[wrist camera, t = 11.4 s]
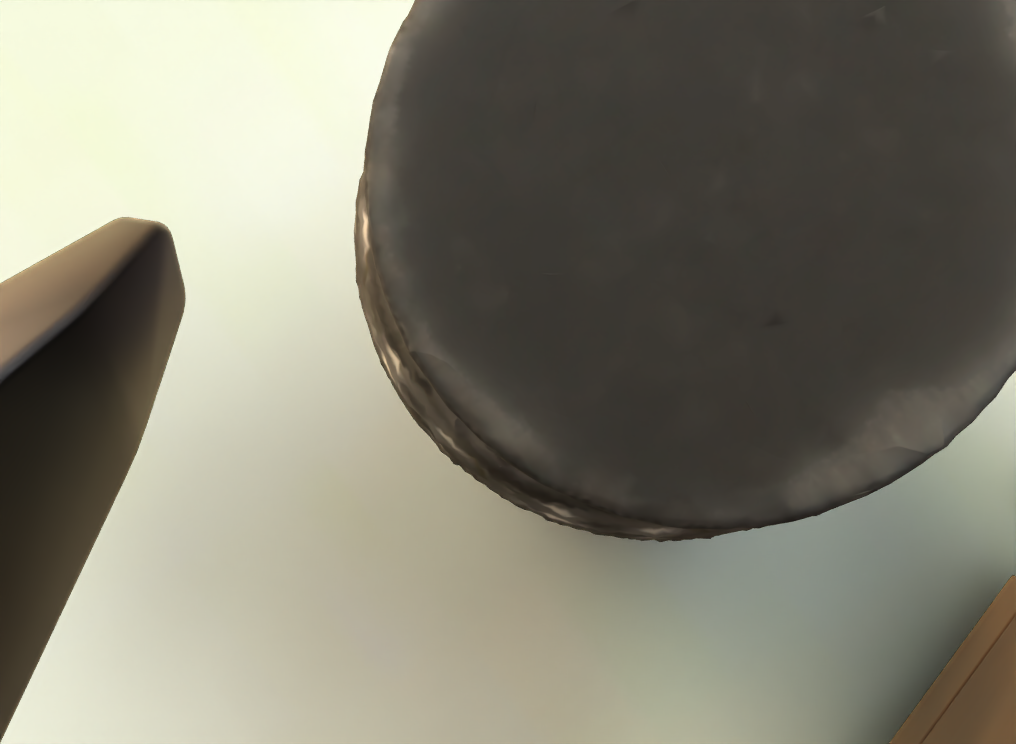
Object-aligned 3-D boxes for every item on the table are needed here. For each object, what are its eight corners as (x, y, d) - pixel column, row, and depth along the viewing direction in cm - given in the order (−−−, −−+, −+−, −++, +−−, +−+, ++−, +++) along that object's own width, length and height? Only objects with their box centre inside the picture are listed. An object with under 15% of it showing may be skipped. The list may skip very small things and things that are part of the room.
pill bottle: (746, 478, 17) (1110, 726, 6) (417, 428, 17) (188, 576, 6) (800, 143, 17) (1282, -242, 6) (466, 95, 17) (320, -359, 6)
